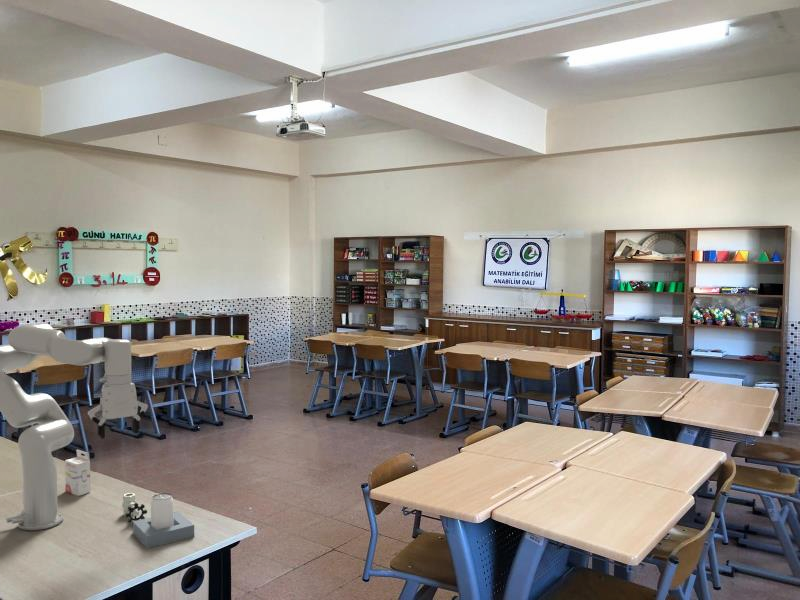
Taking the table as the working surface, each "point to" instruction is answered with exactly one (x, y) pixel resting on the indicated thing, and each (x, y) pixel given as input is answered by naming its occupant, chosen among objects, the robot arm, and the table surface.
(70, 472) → the ink cartridge box
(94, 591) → the table surface
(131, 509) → the valve
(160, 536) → the socket block
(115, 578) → the table surface
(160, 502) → the can
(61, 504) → the table surface
